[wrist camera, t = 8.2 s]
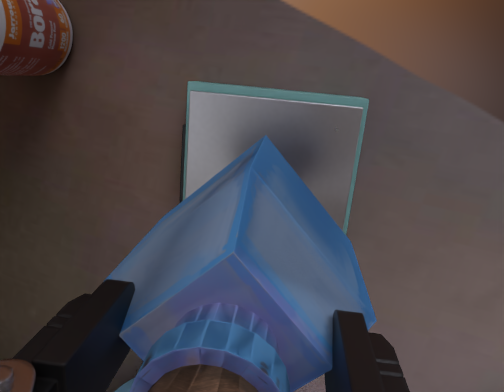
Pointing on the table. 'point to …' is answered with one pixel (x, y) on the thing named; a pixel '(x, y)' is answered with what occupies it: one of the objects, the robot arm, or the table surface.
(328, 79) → the table surface
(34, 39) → the pill bottle
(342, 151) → the pan
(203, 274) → the perfume bottle
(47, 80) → the table surface
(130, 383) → the teapot
